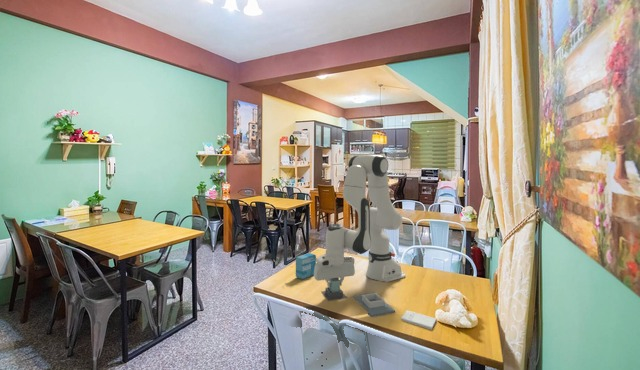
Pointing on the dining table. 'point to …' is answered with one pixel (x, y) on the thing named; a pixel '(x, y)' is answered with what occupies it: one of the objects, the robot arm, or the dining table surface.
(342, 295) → the dark grey square box
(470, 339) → the dining table surface
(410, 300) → the dining table surface
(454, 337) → the dining table surface
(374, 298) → the dock
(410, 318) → the external hard drive
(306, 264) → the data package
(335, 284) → the plug
